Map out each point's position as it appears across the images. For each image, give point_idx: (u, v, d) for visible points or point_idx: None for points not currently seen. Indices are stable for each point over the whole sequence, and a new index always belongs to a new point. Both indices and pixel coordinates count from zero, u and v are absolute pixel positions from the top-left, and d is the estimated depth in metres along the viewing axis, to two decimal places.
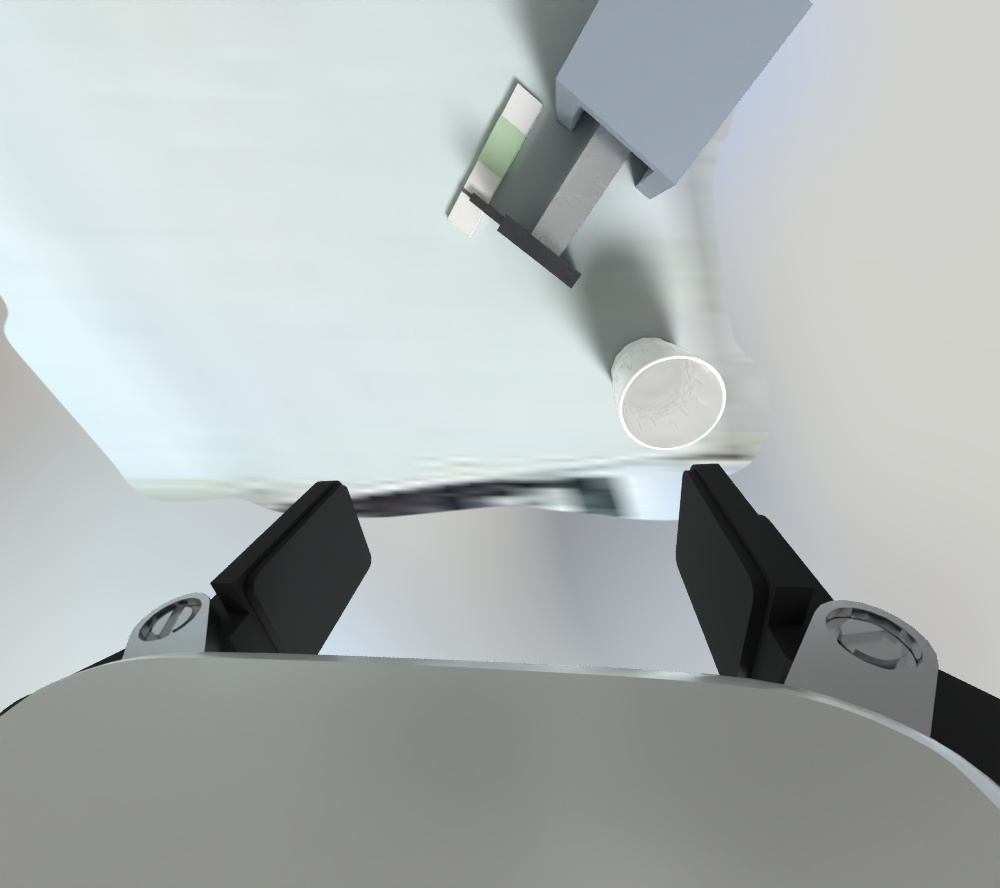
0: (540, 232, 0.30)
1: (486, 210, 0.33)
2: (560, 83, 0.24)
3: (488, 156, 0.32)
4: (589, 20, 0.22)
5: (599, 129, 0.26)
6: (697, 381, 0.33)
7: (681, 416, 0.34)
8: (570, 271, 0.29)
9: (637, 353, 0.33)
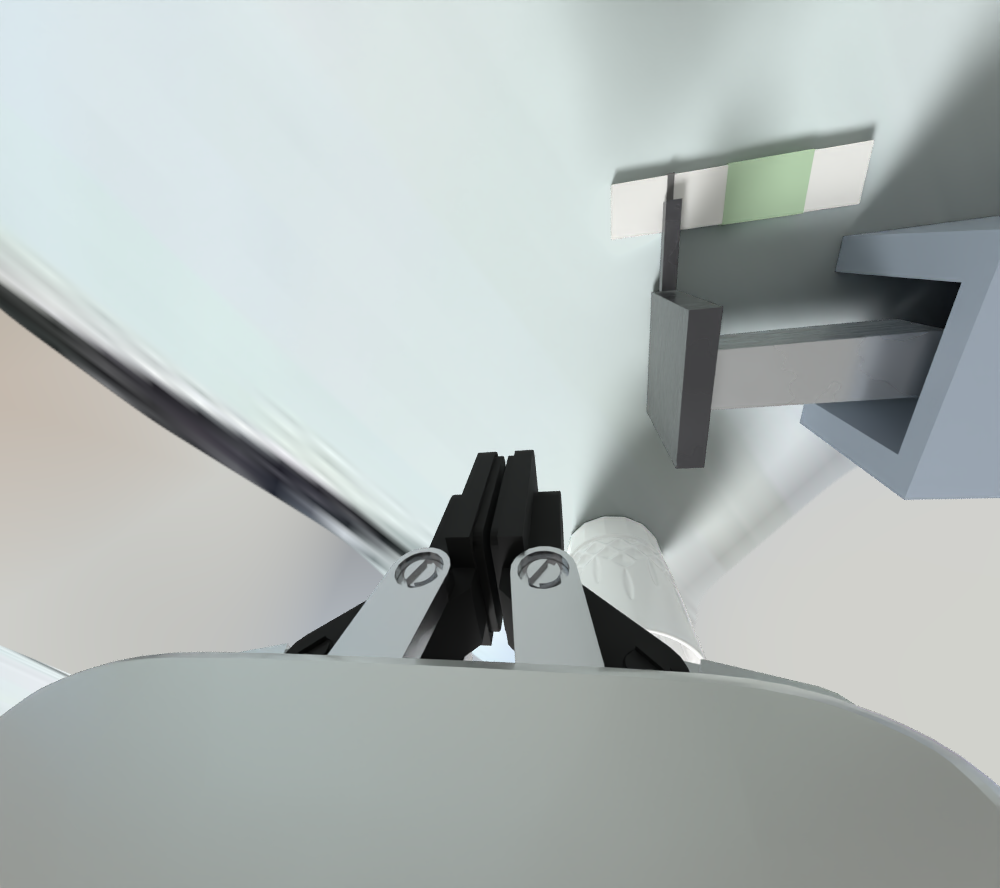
0: None
1: (669, 240, 0.19)
2: None
3: (743, 178, 0.18)
4: None
5: (910, 337, 0.15)
6: None
7: None
8: (698, 452, 0.17)
9: (643, 571, 0.23)
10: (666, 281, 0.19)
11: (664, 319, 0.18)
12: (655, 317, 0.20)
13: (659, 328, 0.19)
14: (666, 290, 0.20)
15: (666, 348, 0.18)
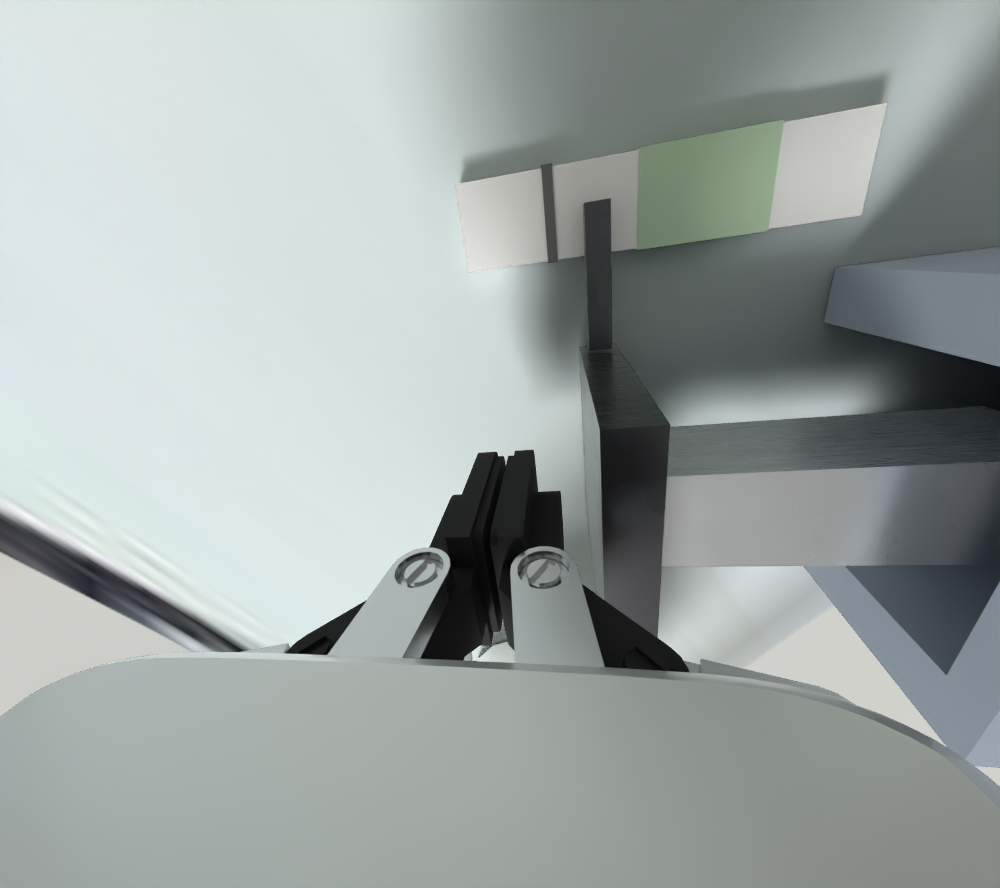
0: (667, 496, 0.09)
1: (594, 269, 0.11)
2: None
3: (665, 172, 0.10)
4: None
5: None
6: None
7: None
8: None
9: None
10: (595, 335, 0.12)
11: (586, 405, 0.11)
12: (582, 390, 0.13)
13: (585, 413, 0.12)
14: (596, 349, 0.12)
15: (590, 456, 0.11)
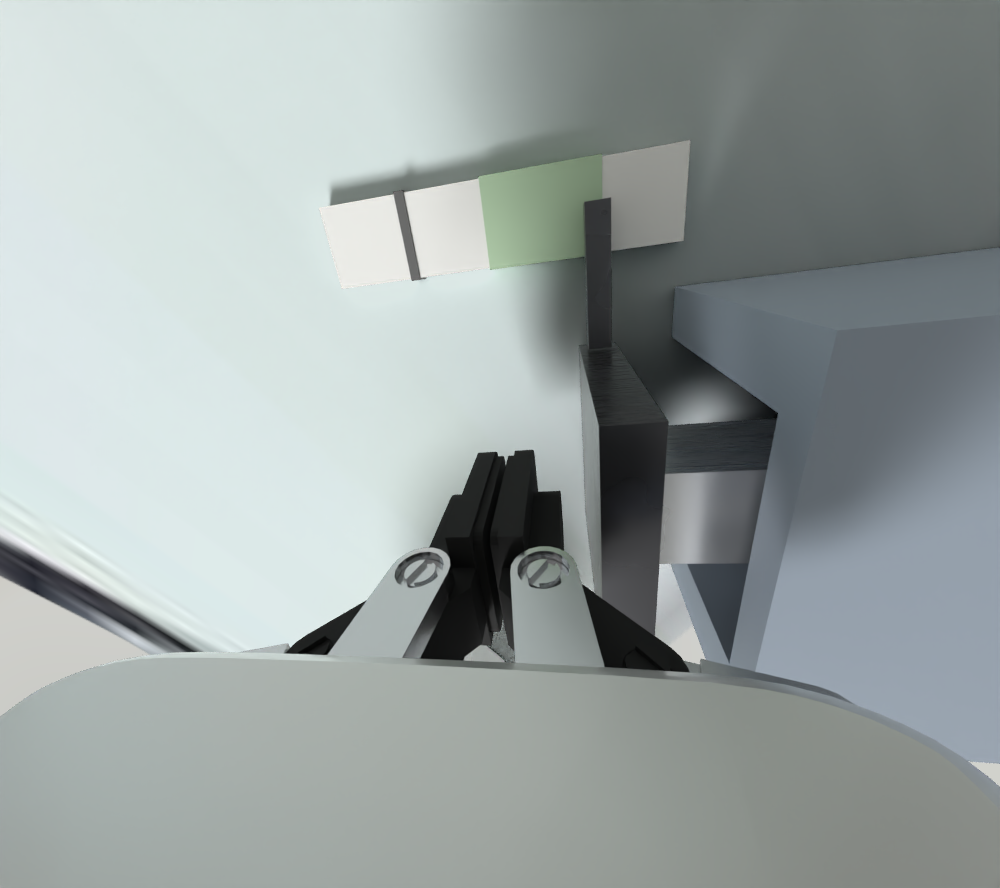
0: (666, 493, 0.09)
1: (594, 268, 0.11)
2: (824, 355, 0.05)
3: (504, 199, 0.11)
4: None
5: None
6: None
7: None
8: None
9: None
10: (595, 333, 0.12)
11: (586, 403, 0.11)
12: (582, 388, 0.13)
13: (584, 411, 0.12)
14: (596, 348, 0.12)
15: (589, 453, 0.11)
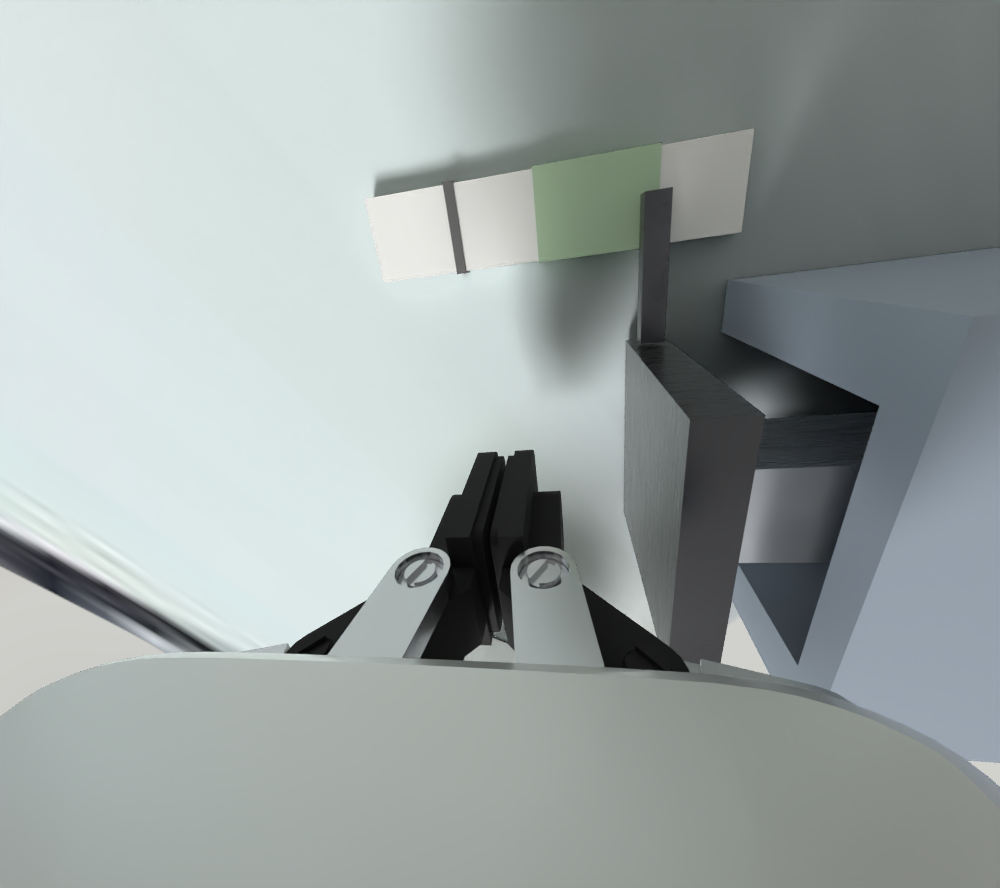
0: None
1: (651, 260, 0.11)
2: (952, 343, 0.05)
3: (557, 190, 0.11)
4: None
5: None
6: None
7: None
8: (707, 655, 0.09)
9: None
10: (648, 328, 0.12)
11: (644, 398, 0.10)
12: (631, 384, 0.12)
13: (637, 406, 0.12)
14: (648, 342, 0.12)
15: (648, 450, 0.10)
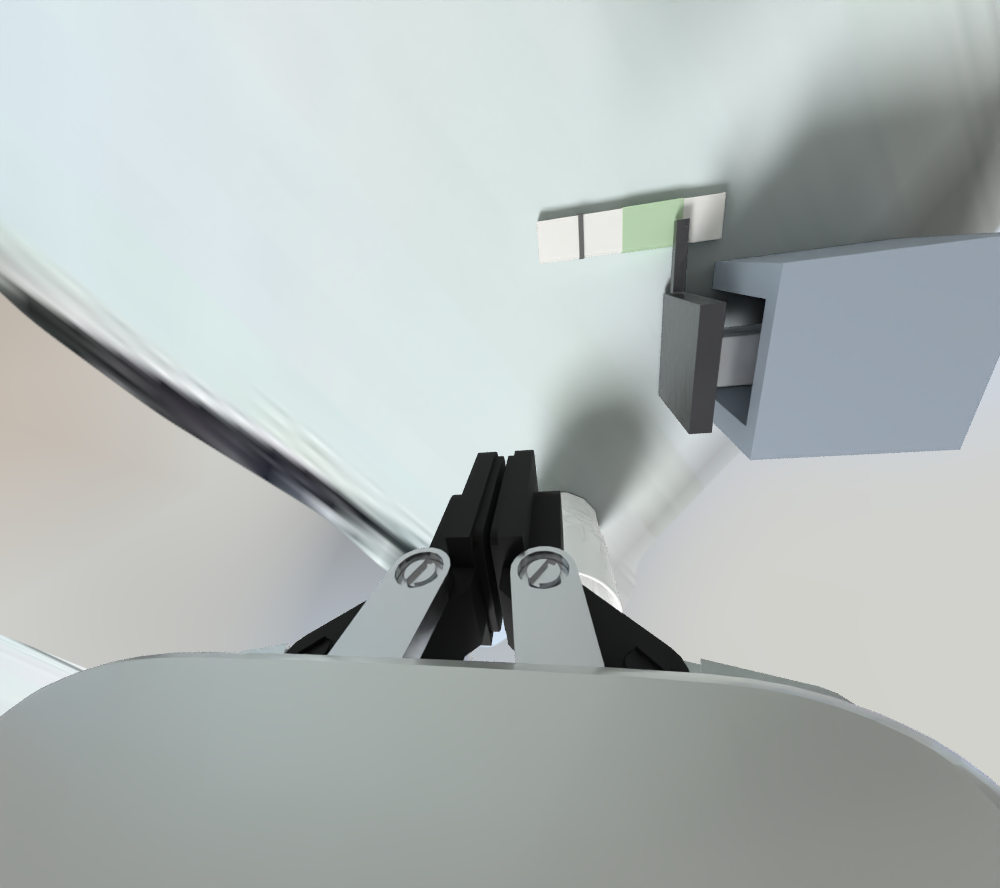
0: None
1: (679, 251, 0.23)
2: (779, 272, 0.17)
3: (634, 218, 0.23)
4: (860, 255, 0.17)
5: None
6: (592, 587, 0.30)
7: None
8: (707, 420, 0.21)
9: (574, 531, 0.28)
10: (676, 284, 0.24)
11: (676, 314, 0.23)
12: (667, 314, 0.25)
13: (671, 322, 0.24)
14: (676, 292, 0.24)
15: (679, 338, 0.23)
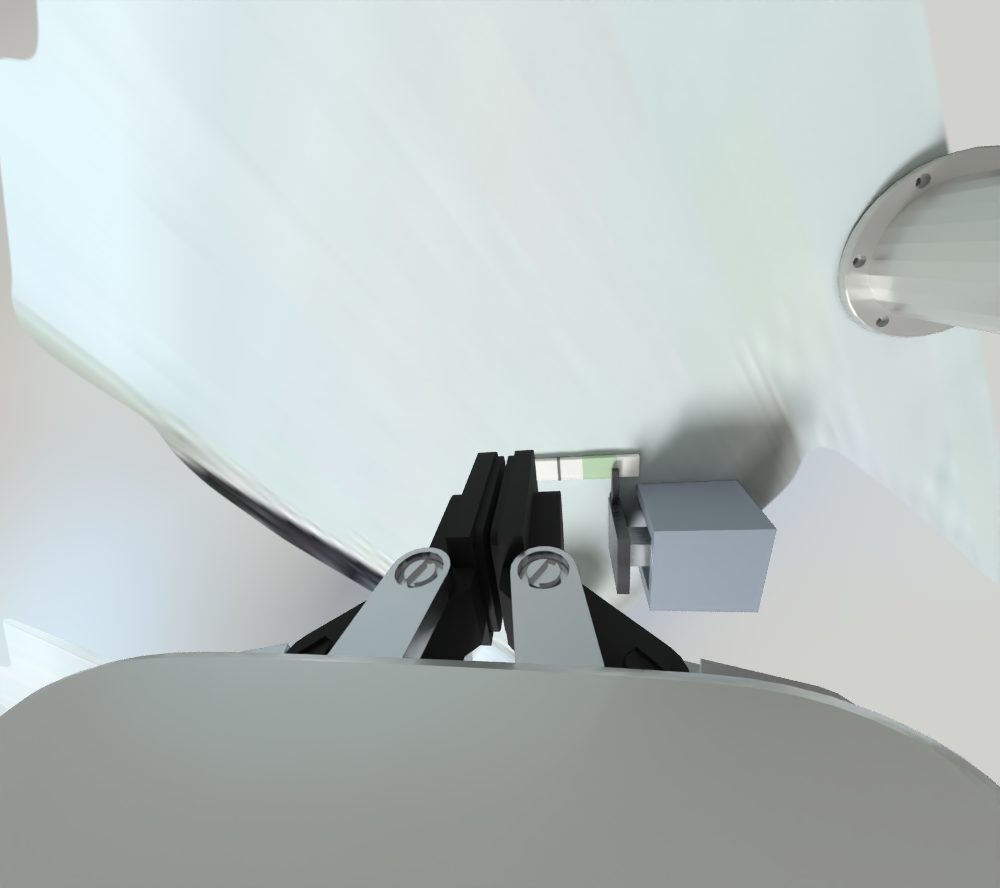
0: (632, 549, 0.38)
1: (614, 485, 0.40)
2: (653, 533, 0.35)
3: (589, 464, 0.40)
4: (691, 531, 0.34)
5: None
6: None
7: None
8: (626, 588, 0.39)
9: None
10: (614, 499, 0.41)
11: (612, 522, 0.40)
12: (609, 513, 0.42)
13: (611, 522, 0.41)
14: (614, 503, 0.41)
15: (613, 536, 0.40)
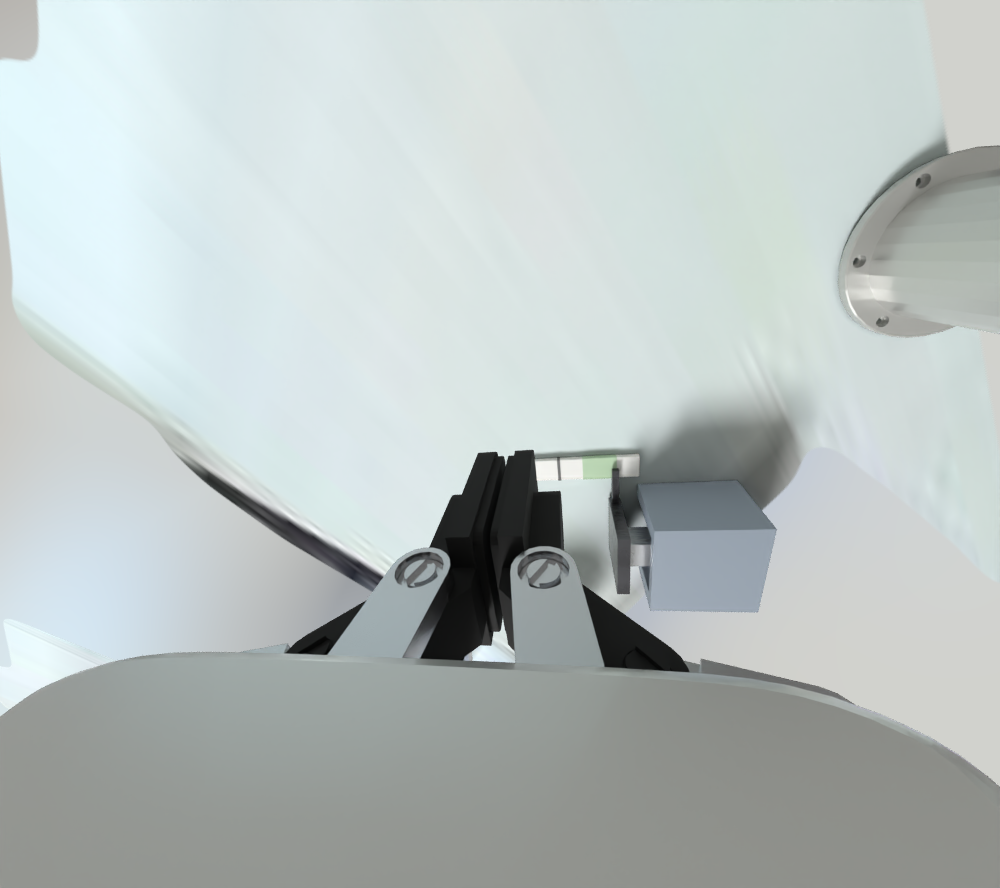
0: (632, 549, 0.39)
1: (614, 485, 0.40)
2: (654, 533, 0.35)
3: (589, 464, 0.40)
4: (691, 531, 0.34)
5: None
6: None
7: None
8: (626, 588, 0.39)
9: None
10: (614, 499, 0.41)
11: (612, 523, 0.40)
12: (610, 513, 0.42)
13: (611, 522, 0.41)
14: (614, 503, 0.41)
15: (613, 536, 0.40)
